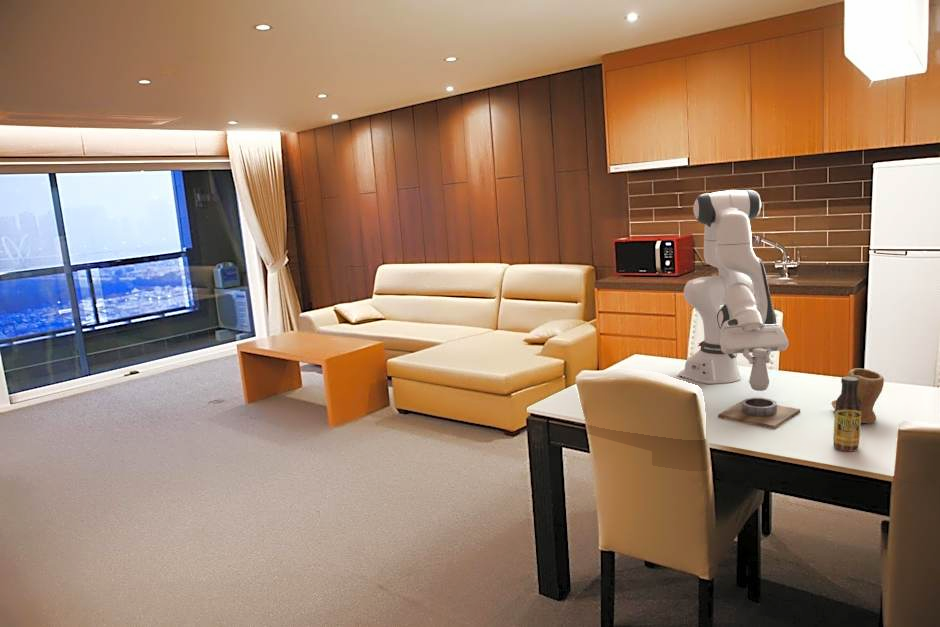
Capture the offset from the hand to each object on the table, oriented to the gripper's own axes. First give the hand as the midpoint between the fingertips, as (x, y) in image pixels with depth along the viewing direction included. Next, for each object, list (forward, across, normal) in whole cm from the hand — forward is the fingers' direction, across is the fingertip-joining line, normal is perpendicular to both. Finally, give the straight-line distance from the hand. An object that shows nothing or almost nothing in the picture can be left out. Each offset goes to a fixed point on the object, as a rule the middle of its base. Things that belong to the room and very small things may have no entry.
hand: (760, 362), depth 210 cm
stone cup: (+17, -27, -8) cm, 33 cm away
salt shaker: (+6, 0, -7) cm, 9 cm away
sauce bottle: (+33, -13, +8) cm, 36 cm away
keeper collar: (+11, 0, -13) cm, 18 cm away
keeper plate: (+11, 0, -13) cm, 18 cm away
